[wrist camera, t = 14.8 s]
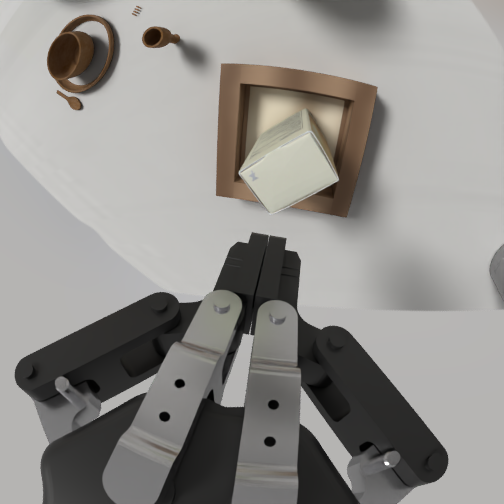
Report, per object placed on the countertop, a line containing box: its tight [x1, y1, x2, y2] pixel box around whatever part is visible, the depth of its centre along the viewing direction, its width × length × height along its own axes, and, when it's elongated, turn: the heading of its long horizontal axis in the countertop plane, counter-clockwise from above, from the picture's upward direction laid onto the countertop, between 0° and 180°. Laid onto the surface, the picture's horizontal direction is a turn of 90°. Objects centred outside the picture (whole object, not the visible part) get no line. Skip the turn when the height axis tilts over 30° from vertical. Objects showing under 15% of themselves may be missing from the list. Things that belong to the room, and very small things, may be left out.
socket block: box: [216, 64, 378, 217], centre depth 28 cm, size 15×15×4 cm
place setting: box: [47, 6, 180, 110], centre depth 24 cm, size 18×20×6 cm
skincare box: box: [239, 108, 339, 215], centre depth 24 cm, size 6×4×12 cm
